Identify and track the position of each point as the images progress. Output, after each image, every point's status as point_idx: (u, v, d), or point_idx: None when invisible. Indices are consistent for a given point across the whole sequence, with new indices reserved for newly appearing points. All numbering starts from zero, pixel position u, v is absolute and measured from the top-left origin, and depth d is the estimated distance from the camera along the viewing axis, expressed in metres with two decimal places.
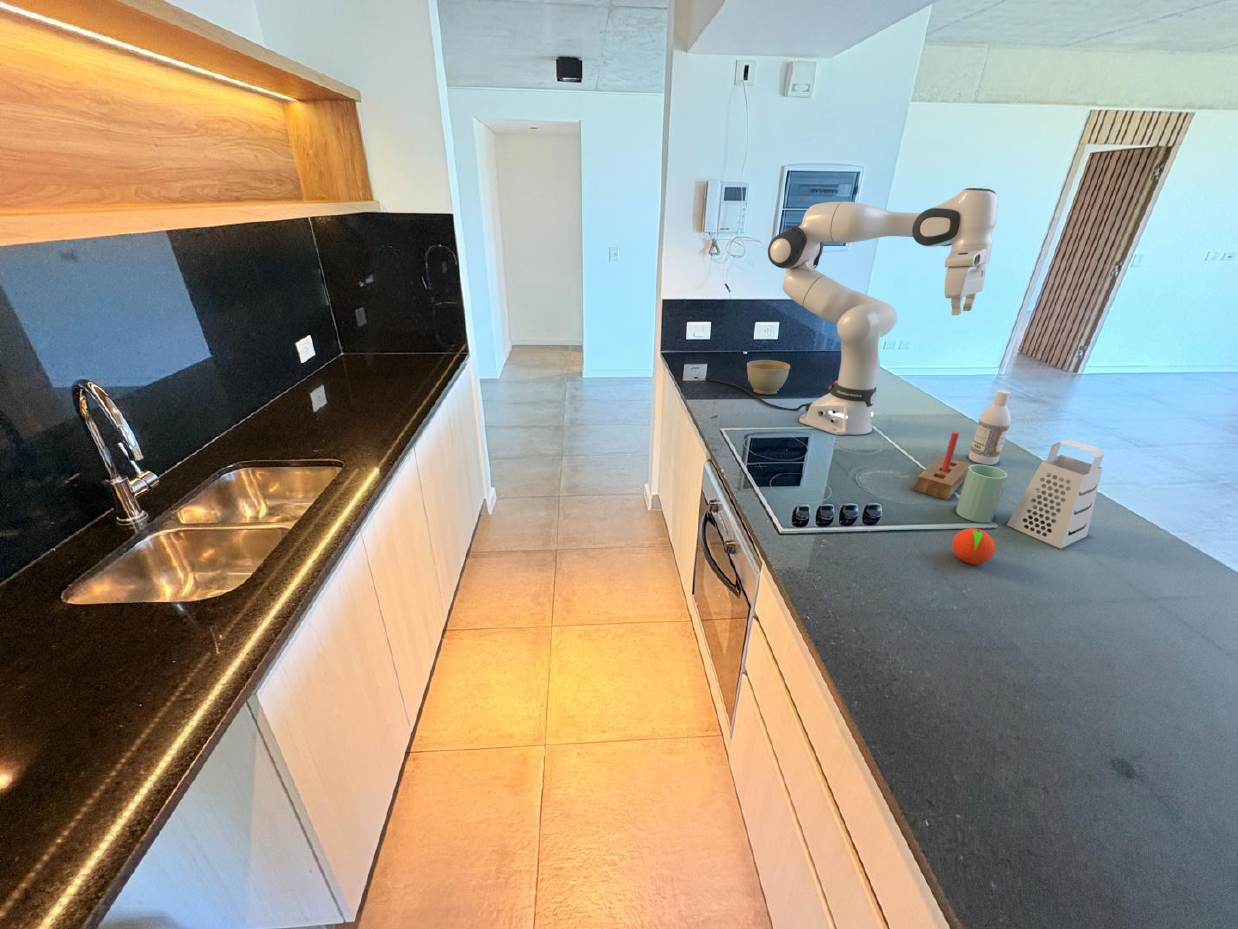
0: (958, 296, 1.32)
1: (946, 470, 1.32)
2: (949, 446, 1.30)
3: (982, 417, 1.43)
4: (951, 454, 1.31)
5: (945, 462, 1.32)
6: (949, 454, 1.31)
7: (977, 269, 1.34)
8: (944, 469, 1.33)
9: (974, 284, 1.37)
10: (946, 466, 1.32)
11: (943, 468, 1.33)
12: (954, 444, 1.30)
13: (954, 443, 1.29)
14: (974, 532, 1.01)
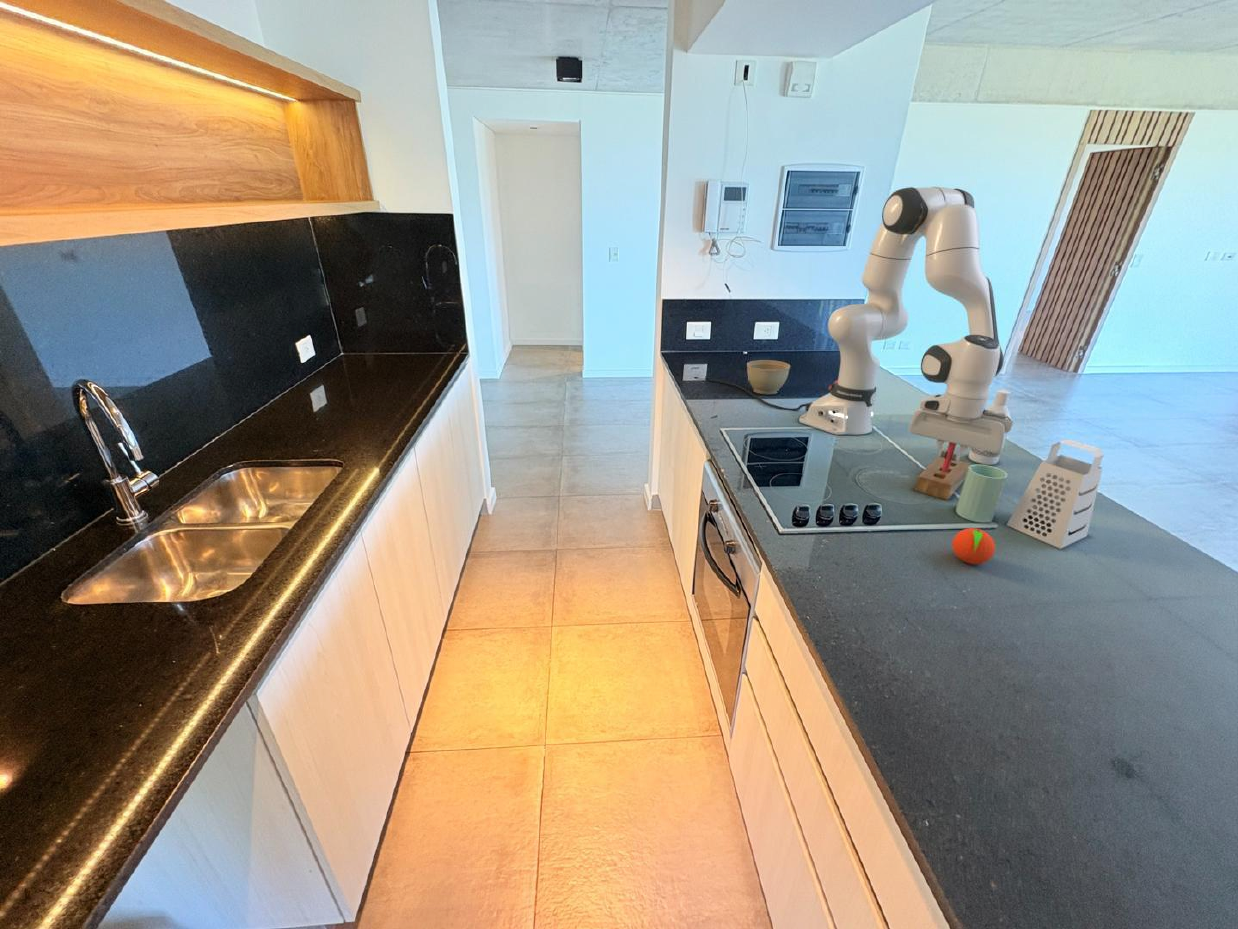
0: (910, 431, 1.35)
1: (946, 470, 1.32)
2: (949, 446, 1.30)
3: None
4: (951, 454, 1.31)
5: (945, 462, 1.32)
6: (949, 454, 1.31)
7: (948, 418, 1.27)
8: (944, 469, 1.33)
9: (957, 434, 1.27)
10: (946, 466, 1.32)
11: (943, 468, 1.33)
12: (954, 444, 1.30)
13: None
14: (974, 532, 1.01)
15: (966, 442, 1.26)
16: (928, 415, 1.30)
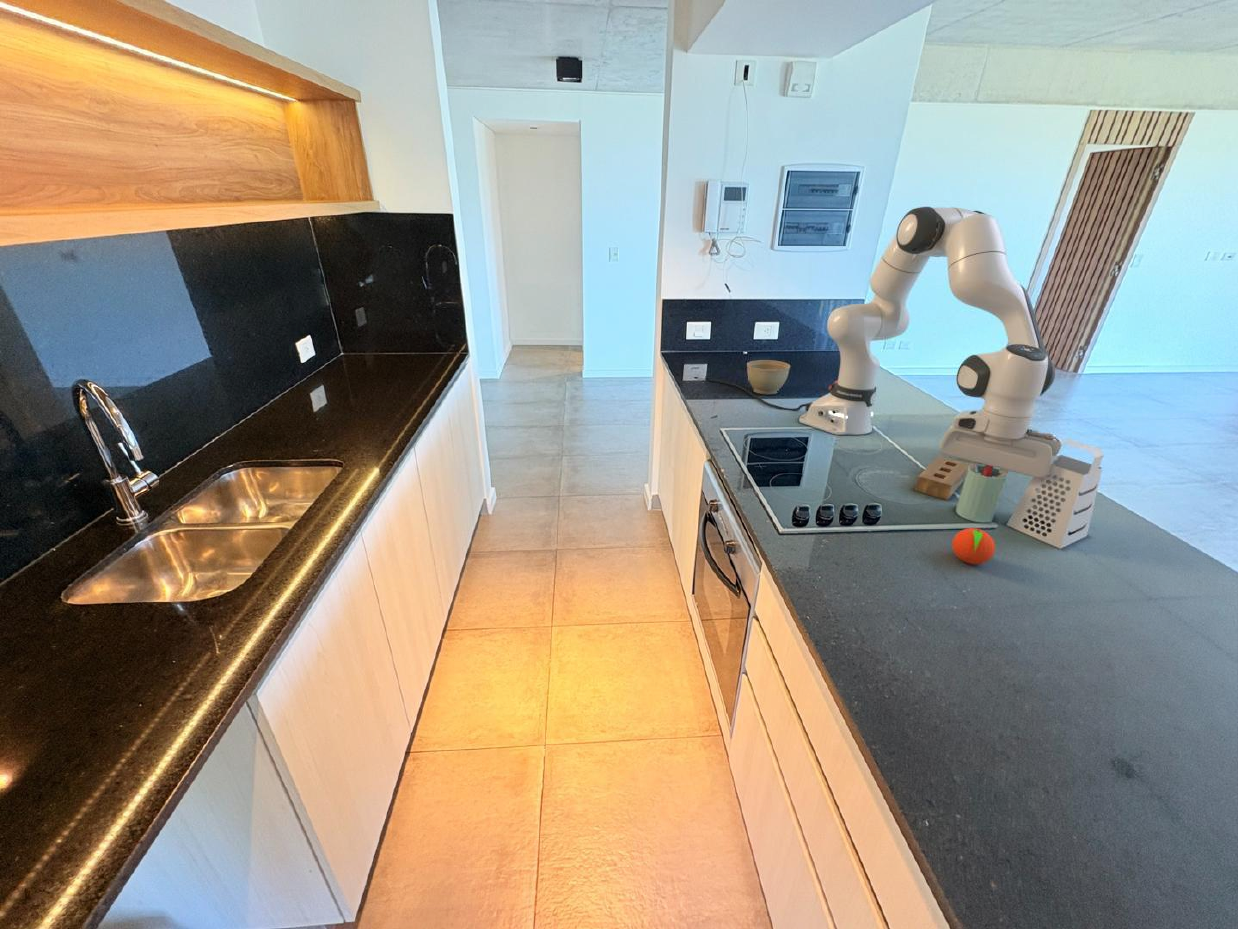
0: (940, 451, 1.20)
1: None
2: (985, 470, 1.16)
3: None
4: None
5: None
6: None
7: (986, 438, 1.12)
8: None
9: (995, 456, 1.13)
10: None
11: None
12: (991, 468, 1.15)
13: (991, 466, 1.15)
14: (974, 532, 1.01)
15: (1006, 465, 1.12)
16: (962, 434, 1.16)
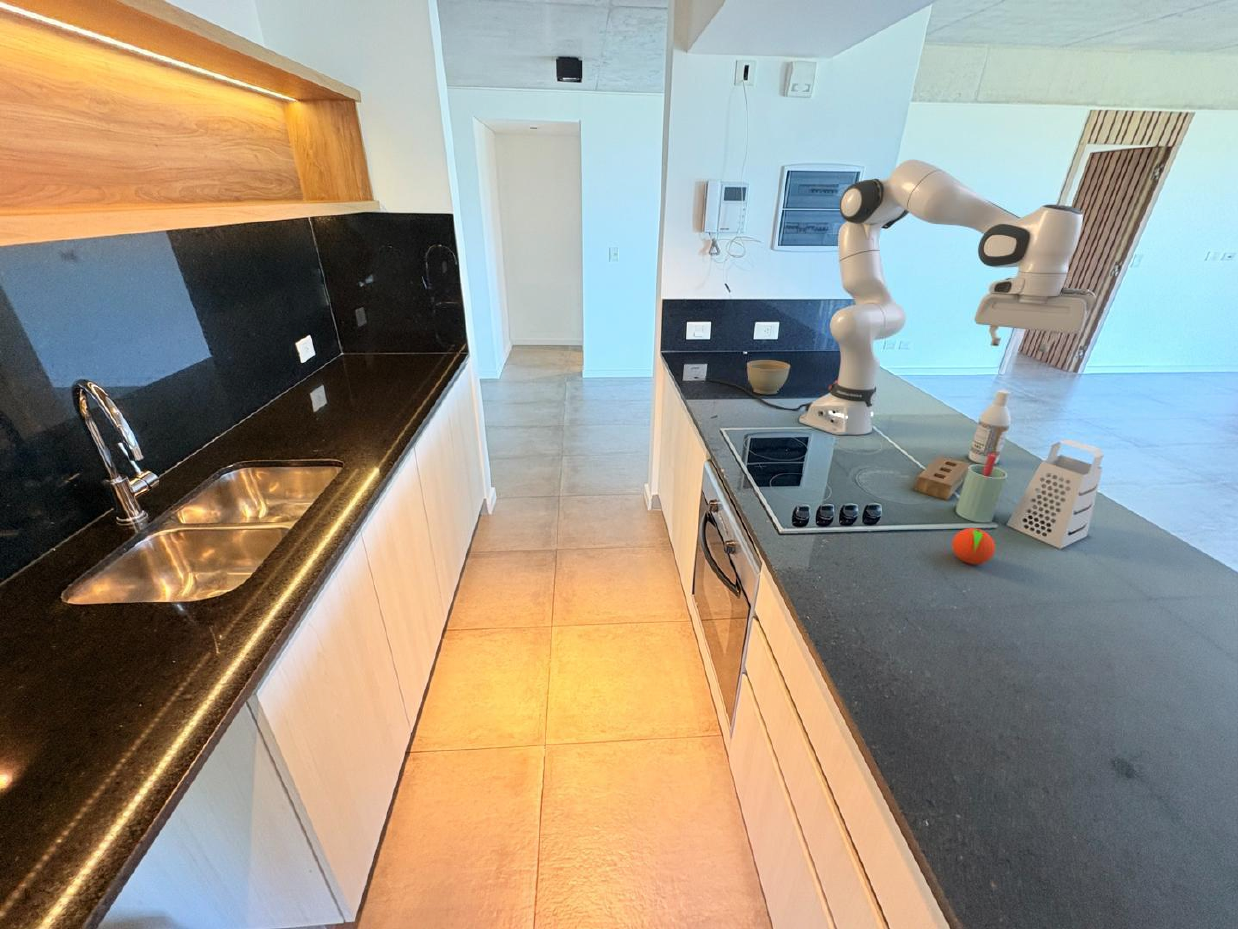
0: None
1: None
2: (985, 470, 1.16)
3: (982, 417, 1.43)
4: None
5: None
6: None
7: (1021, 300, 1.17)
8: None
9: (1030, 318, 1.18)
10: None
11: None
12: (991, 468, 1.15)
13: (991, 466, 1.15)
14: (974, 532, 1.01)
15: (1041, 325, 1.17)
16: (997, 300, 1.21)
